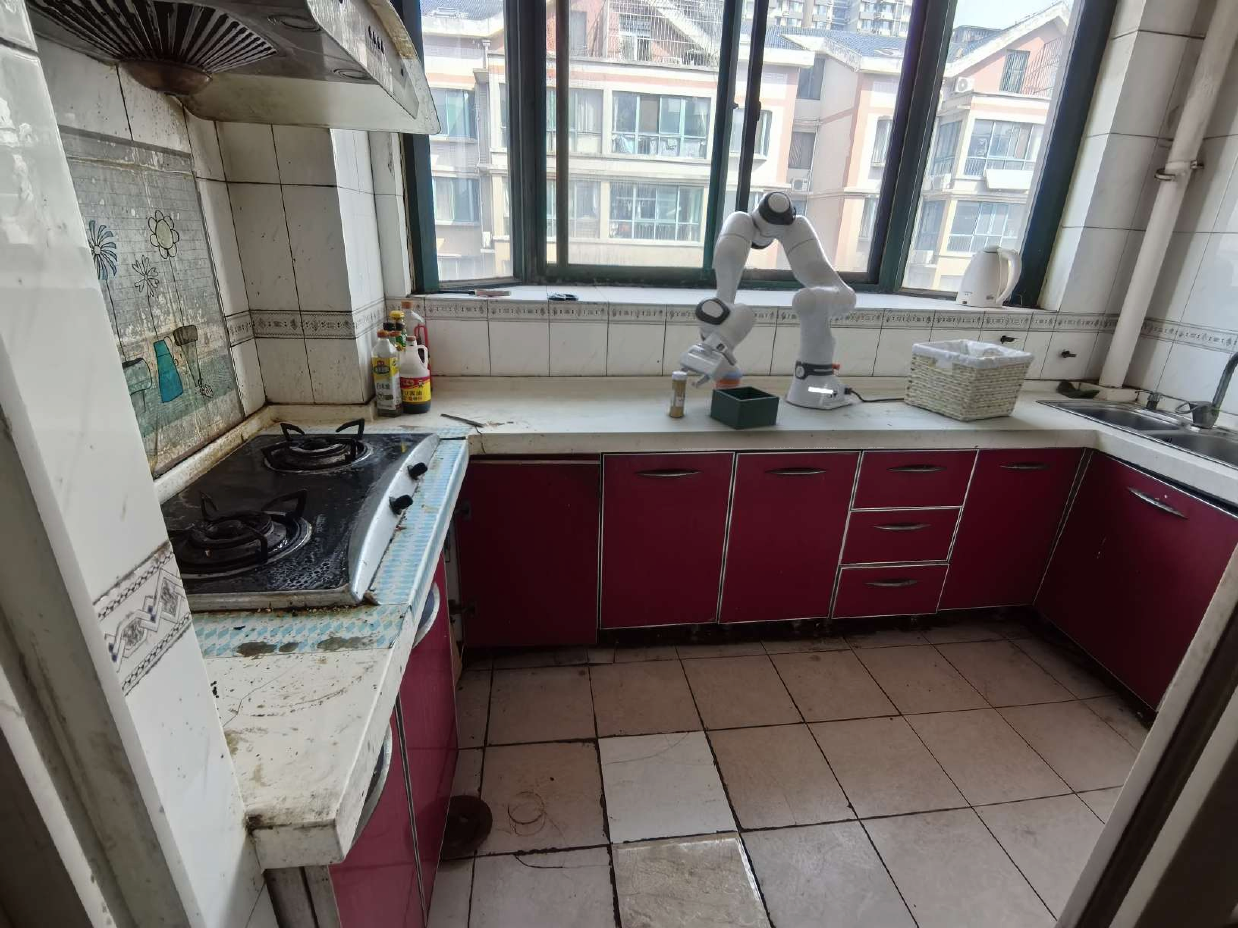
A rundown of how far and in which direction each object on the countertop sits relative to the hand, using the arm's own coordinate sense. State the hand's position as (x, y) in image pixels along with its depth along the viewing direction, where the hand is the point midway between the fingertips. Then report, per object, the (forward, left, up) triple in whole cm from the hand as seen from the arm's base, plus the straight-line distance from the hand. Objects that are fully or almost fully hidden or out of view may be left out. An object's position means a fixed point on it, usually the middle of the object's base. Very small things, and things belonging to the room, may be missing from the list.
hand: (685, 382), depth 181 cm
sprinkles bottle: (+3, +1, -10) cm, 11 cm away
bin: (-14, +12, -10) cm, 21 cm away
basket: (-94, +27, -10) cm, 98 cm away
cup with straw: (-20, -5, -10) cm, 23 cm away
